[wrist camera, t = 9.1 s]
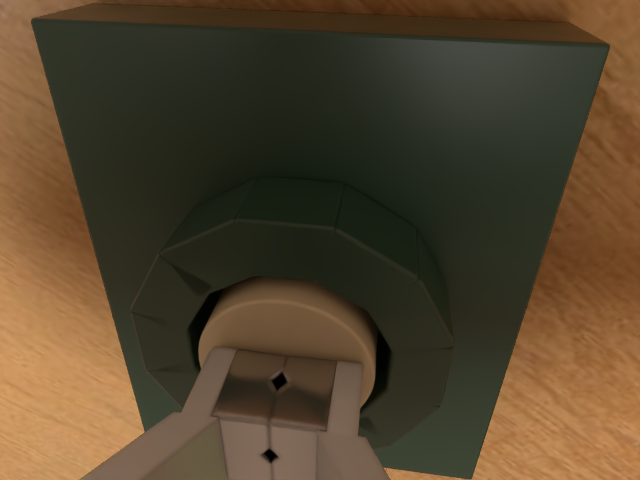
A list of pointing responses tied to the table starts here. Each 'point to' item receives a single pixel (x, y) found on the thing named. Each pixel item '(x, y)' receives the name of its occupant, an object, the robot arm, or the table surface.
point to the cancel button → (293, 324)
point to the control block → (325, 187)
